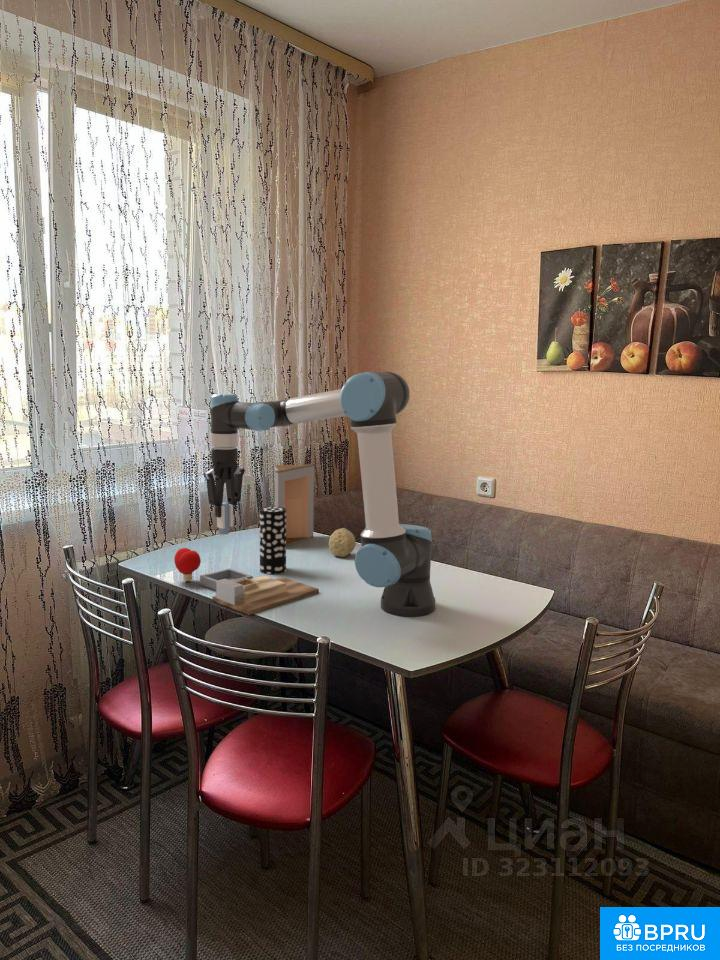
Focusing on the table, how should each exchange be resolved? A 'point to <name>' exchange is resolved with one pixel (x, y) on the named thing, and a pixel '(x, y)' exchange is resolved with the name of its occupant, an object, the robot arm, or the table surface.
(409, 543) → the robot arm
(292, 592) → the board
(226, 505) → the dowel
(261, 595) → the wooden block with recess
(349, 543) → the coral
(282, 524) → the spotted tube
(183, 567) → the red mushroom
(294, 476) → the cabinet
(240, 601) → the block
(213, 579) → the tray
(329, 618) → the table surface
